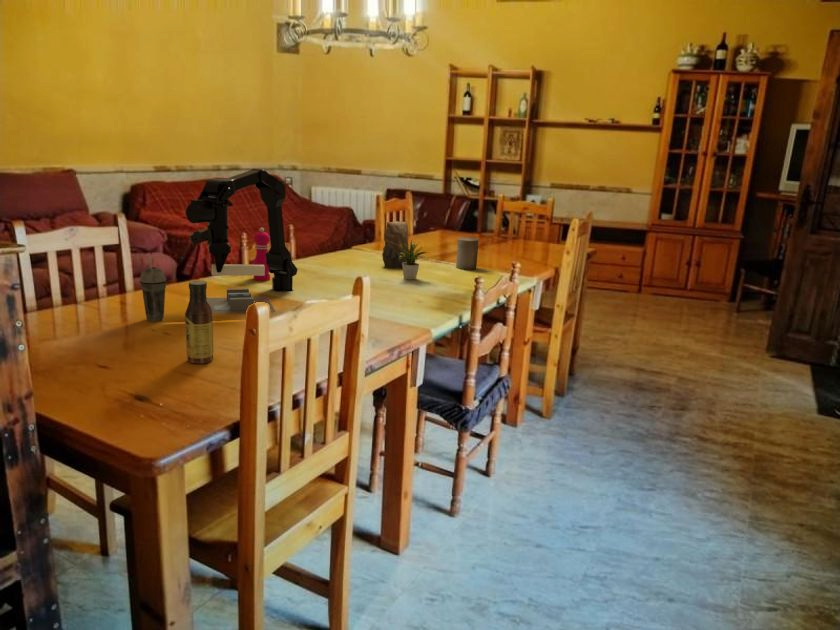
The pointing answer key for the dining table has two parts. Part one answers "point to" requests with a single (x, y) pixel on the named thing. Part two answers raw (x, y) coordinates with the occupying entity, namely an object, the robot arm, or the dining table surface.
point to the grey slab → (235, 302)
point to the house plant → (411, 261)
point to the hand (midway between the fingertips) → (218, 271)
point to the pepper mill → (261, 253)
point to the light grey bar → (240, 270)
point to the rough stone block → (391, 252)
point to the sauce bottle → (199, 325)
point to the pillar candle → (467, 253)
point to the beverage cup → (153, 292)
